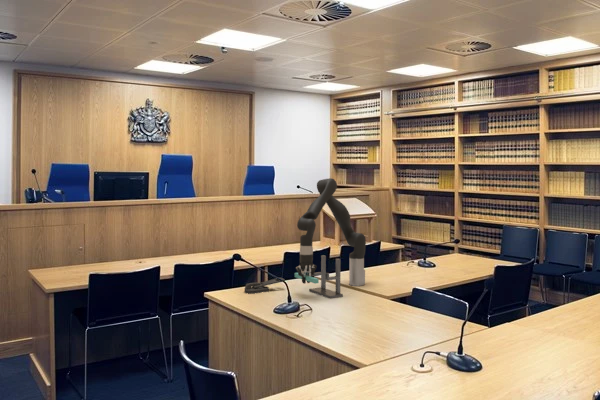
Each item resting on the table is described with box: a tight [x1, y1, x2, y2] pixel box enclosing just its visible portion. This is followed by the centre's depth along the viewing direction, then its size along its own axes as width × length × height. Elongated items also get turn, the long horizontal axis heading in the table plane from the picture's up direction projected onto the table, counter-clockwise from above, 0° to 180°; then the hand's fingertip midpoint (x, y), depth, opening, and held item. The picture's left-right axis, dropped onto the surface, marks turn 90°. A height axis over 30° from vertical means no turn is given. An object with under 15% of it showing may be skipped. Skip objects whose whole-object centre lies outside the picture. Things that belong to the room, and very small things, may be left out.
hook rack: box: [308, 254, 344, 300], centre depth 313 cm, size 9×22×22 cm, turn 32°
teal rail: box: [294, 272, 320, 284], centre depth 306 cm, size 2×22×2 cm, turn 32°
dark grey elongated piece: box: [244, 277, 286, 295], centre depth 322 cm, size 9×7×25 cm
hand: (306, 282), depth 306 cm, fingers closed on teal rail, 2 cm apart
